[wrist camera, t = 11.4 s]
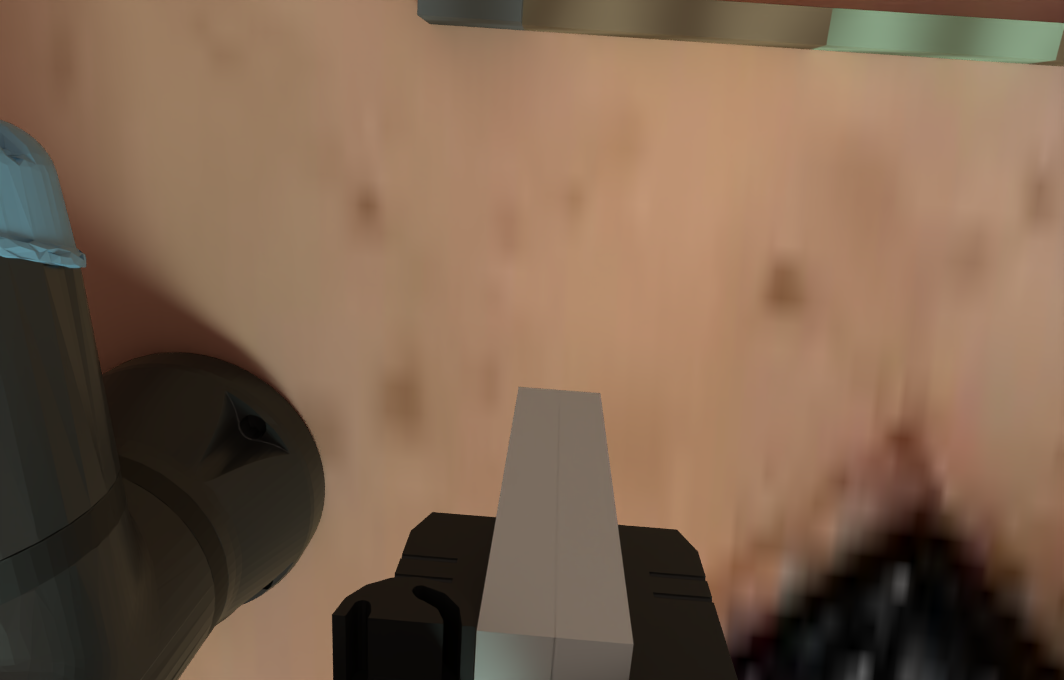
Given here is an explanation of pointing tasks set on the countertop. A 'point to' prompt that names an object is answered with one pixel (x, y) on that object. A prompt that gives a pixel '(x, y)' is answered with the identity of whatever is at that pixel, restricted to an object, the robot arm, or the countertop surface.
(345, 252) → the countertop surface
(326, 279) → the countertop surface
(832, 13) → the trap channel
